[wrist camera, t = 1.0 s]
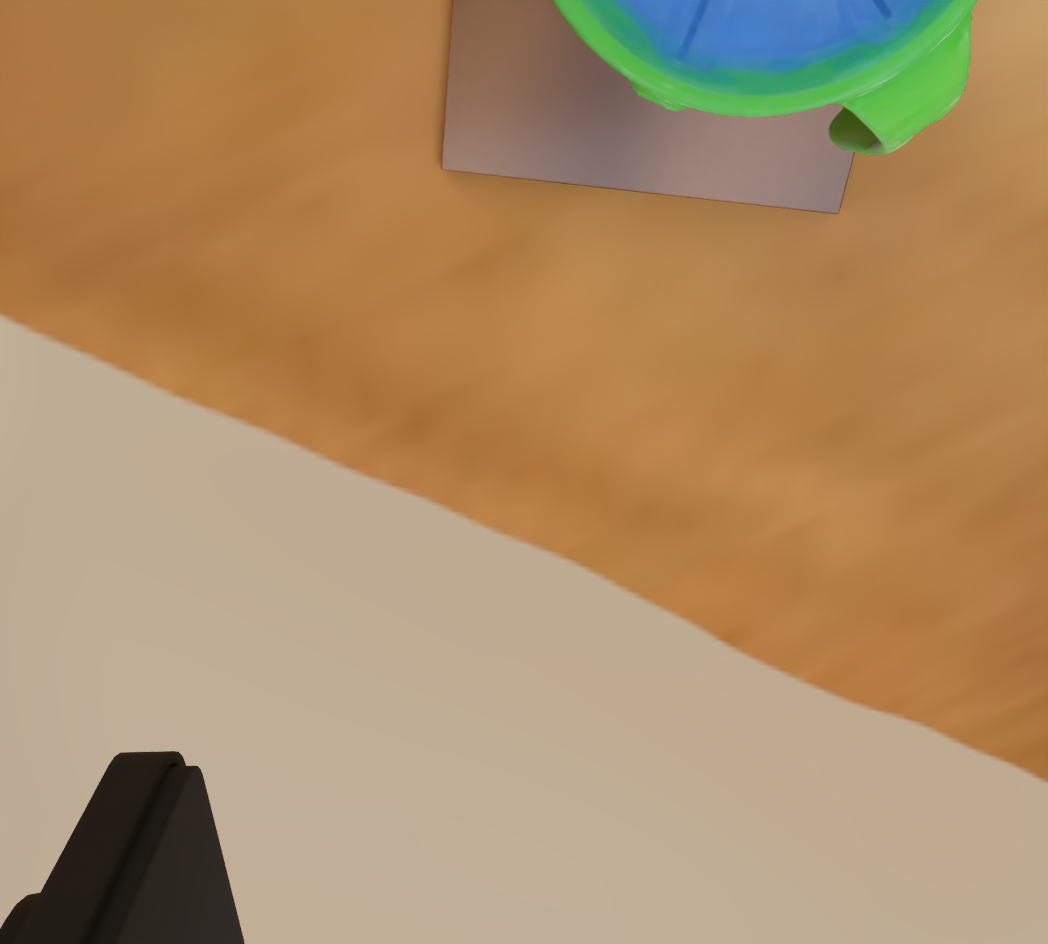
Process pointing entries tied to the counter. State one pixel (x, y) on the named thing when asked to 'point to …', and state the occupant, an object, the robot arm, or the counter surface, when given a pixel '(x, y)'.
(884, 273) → the counter surface
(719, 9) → the snack cup
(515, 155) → the placemat
